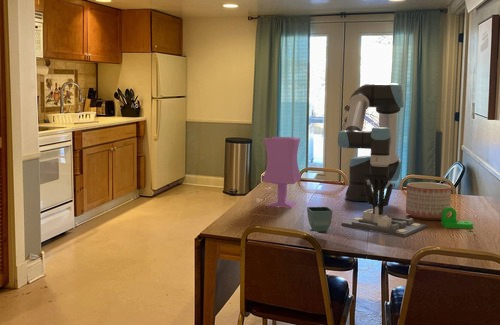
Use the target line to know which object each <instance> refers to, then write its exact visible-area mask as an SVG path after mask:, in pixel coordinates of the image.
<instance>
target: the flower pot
mask: <svg viewBox="0 0 500 325" xmlns="http://www.w3.org/2000/svg"><path fill="white" fill-rule="evenodd" d="M306 210H307V220H308V223H309V226H310V228H311V229H312V231H313V232H315V233H316V232H327V231H328V230H329V229H330V226H331V225H332V224H331V223H332V220H333V219H332V218H333V211H334V210H332V209H331V208H329V207H328V206H308V207H306Z"/></svg>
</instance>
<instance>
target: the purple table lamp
mask: <svg viewBox="0 0 500 325" xmlns="http://www.w3.org/2000/svg"><path fill="white" fill-rule="evenodd" d="M263 140H264V144H265V148H266V154H267V161H266V162H267V163H266V168H265V171H264V174H263V178H262V182H263V183H265V184H267V183H268V184H273V185H277V199H276V200H275V201H276V202H273V201H272V202H273V203H270V202H269V203H270V204H268V203H267V204H265V207H270V206H279V207H278V208H280V207H287V208H286V209H290V208H292V207H293V206H294V205H295V206H296V205H297V204H296V202H297V201H296V202H295V201H287V200H288V199H287V198H288V185H295V184H296V183H297V182H299V181H301V180H302V175H301V172H300V168H299V163H298V151H299V147H300V146H299V145H300V142H301V141H300V140H301V137H292V136H290V137H289V136H287V137H286V136H272V137H264V138H263ZM295 206H294V207H295ZM294 207H293V208H294ZM293 208H292V209H293Z"/></svg>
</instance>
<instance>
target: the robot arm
mask: <svg viewBox="0 0 500 325" xmlns="http://www.w3.org/2000/svg"><path fill="white" fill-rule="evenodd" d="M348 106H349V111H348V115H347V119H346V122H345V123H346V124H345V127H344V130H340V131H338V133H337V134H338V135H337V145H338V146H337V147H339V148H343V149H365V150H367V149H368V150H370V155H362V156H354V157H352V158H350V159H349V166H348V168H349V174H348V175H349V176H348V179H349V180H348V186H347V189H346V192H345V196H344V197H345V199H346V200H349V201H354V202H355V201H356V202H368V204H369V205H371V206H372V209H373V214H375V218H374V223H378V218H379V217H381V215H383V216H384V207H387V206H388V205H389V203H390V202H389V201H390V199H391V195H392V192H393V189H394V187H395V186H396V185H395V183H394V182H397V181H399V178H400V175H401V170H402V168H401V167H402V160H401V159H400V157H399V155H398V154H397V127H398V125H397V124H398V122H397V120H398V113H400V111H401V109H402V108H404V92H403V86H402V84H400V83H398V82H397V83H394V82H390V83H386V82H384V83H379V82H378V83H372V82H371V83H366V84H363V85H361V86H359V87H358V88H357V89H356V90H354V91H353V93H352V94H351V96H350V97H349V102H348ZM369 108H375V111H376V113H378V127H377V126H376V127H375V126H374V127H372V128H371V130H366V131H364V130H363V128H364V123H365V119H366V118H365V117H366V112H367V110H368V109H369ZM385 190H386V191H385Z"/></svg>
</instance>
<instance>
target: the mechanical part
mask: <svg viewBox="0 0 500 325" xmlns="http://www.w3.org/2000/svg"><path fill="white" fill-rule="evenodd" d="M449 211H450V213H451V214H450V216H449V217H447V216H446V213H447V212H449ZM440 221H441V222H440V224H441V226H443V228H445V229H447V228H448V229H466V230H467V229H468V230H469V229H471V230H472V229H473V228H474V223H473V222H472V221H470V220H469V221H468V220H467V221H466V220H464V221H463V220H457V211H456V209H455V208H453V207H451V206H450V207H446V208H444V209H443V211H442V219H441V220H440Z"/></svg>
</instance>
